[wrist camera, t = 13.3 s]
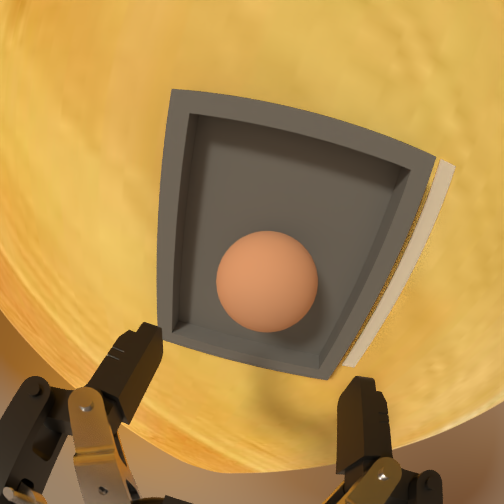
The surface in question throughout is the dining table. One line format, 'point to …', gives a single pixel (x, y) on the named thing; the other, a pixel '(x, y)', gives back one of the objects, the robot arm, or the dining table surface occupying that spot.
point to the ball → (267, 281)
